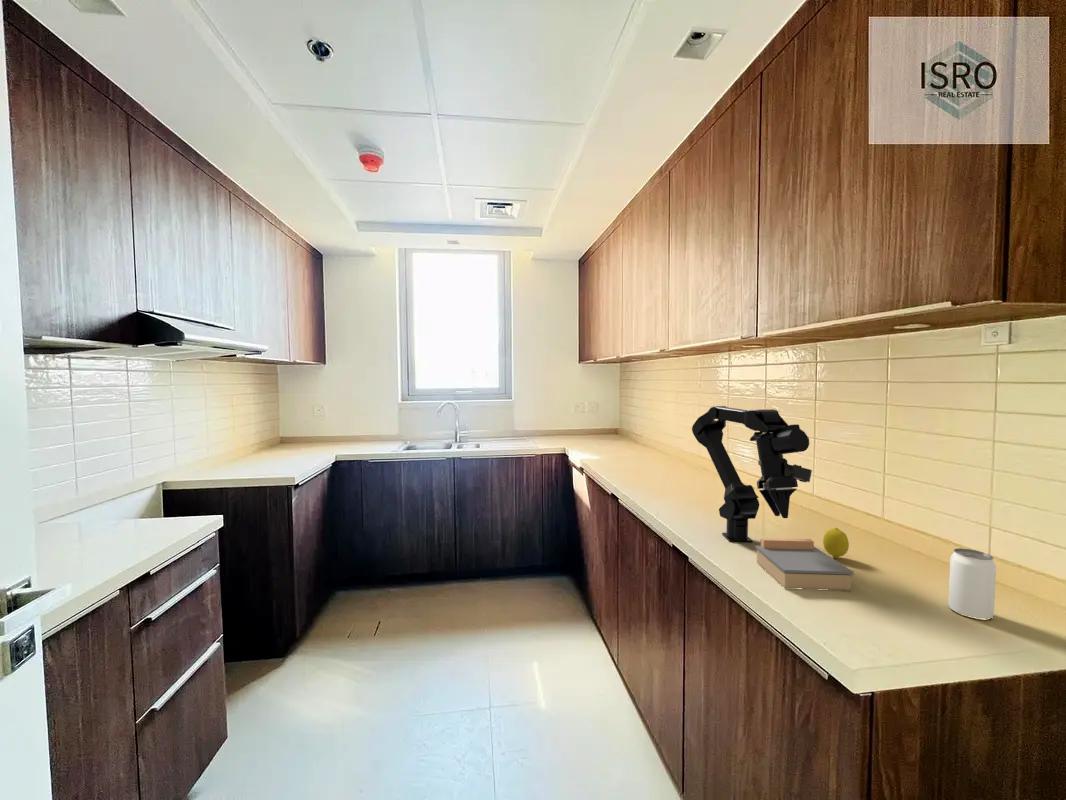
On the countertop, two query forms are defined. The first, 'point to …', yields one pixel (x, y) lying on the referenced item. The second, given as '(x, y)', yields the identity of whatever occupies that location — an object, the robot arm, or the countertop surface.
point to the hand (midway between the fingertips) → (781, 517)
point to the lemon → (836, 542)
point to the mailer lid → (799, 557)
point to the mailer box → (804, 577)
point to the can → (972, 583)
